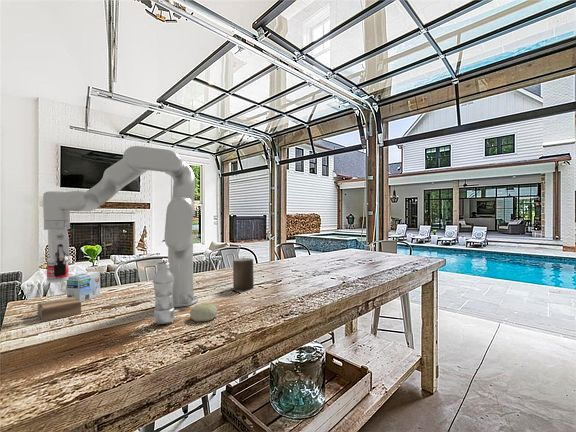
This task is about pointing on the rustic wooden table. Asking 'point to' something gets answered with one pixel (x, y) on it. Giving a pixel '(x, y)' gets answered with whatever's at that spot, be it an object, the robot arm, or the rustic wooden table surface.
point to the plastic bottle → (163, 294)
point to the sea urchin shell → (203, 312)
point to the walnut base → (58, 308)
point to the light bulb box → (84, 285)
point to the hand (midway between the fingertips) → (58, 273)
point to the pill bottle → (50, 270)
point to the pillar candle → (243, 274)
